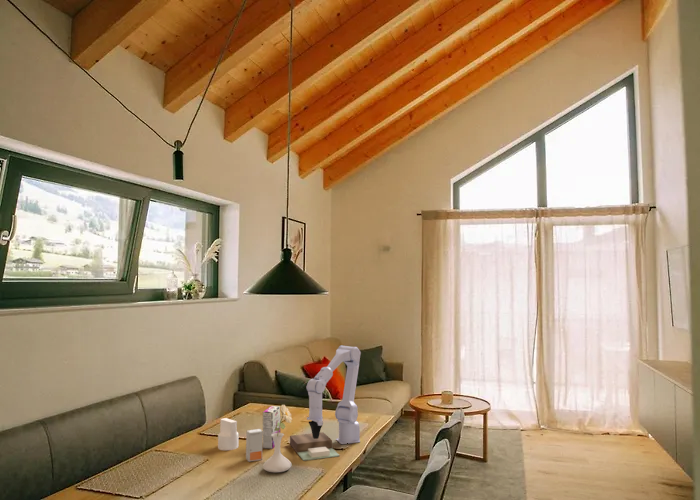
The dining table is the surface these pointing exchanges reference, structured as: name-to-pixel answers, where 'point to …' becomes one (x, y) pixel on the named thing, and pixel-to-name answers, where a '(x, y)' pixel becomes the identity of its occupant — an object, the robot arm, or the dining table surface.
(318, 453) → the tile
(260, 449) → the skincare box
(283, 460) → the flower in vase
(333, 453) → the mat
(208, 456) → the dining table surface
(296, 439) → the brown flat block
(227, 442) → the cylinder with rectangular tab
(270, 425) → the candy bar box
